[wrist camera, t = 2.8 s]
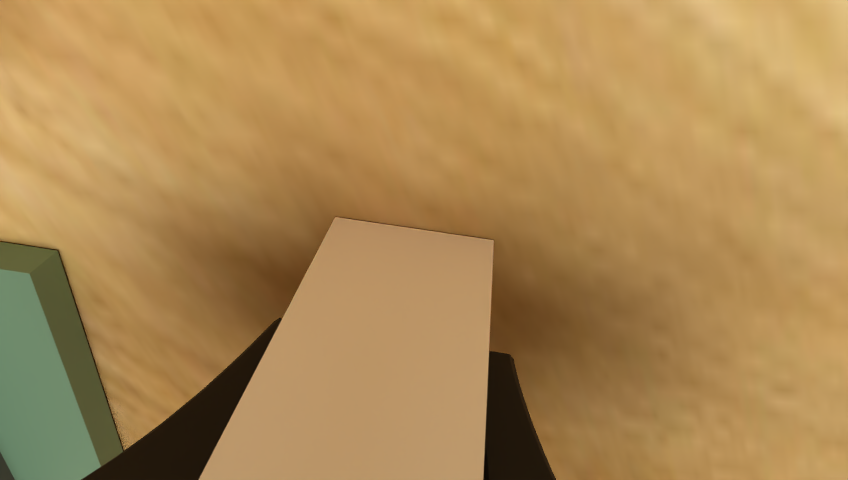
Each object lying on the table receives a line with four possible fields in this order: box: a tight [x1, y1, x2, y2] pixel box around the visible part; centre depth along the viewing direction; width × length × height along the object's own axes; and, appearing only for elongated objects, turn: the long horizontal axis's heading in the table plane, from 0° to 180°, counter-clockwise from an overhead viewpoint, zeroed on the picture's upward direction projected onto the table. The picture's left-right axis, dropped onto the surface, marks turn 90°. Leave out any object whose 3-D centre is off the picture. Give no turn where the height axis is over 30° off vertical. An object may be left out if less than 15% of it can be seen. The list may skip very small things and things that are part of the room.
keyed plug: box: [199, 217, 494, 480], centre depth 11 cm, size 4×5×7 cm, turn 175°
